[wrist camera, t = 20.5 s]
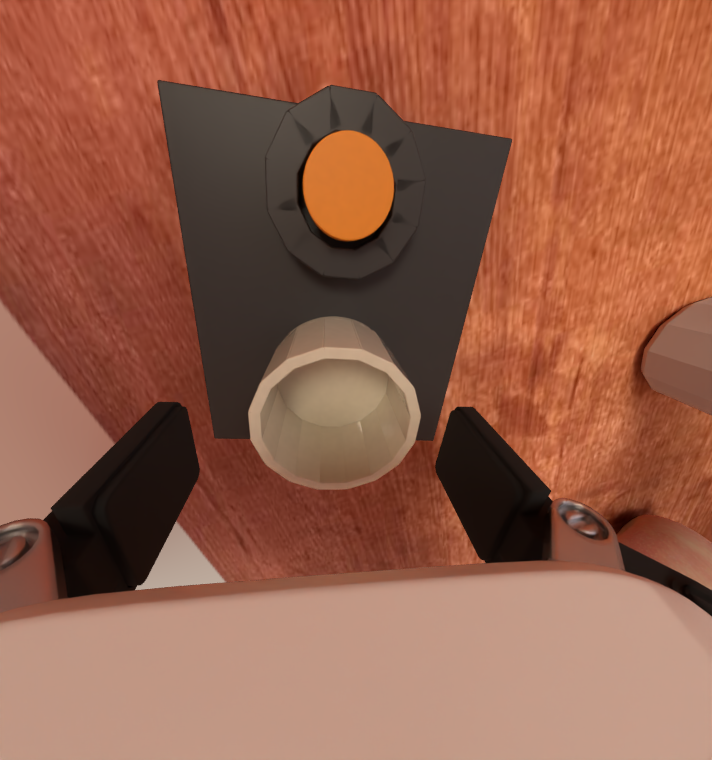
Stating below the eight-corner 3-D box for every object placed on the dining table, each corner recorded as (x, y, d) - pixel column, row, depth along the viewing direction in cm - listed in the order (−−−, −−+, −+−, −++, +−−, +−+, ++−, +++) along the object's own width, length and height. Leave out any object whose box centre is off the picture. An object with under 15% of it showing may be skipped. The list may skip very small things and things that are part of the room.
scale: (224, 421, 18) (203, 457, 15) (180, 102, 11) (126, 47, 8) (424, 424, 20) (442, 457, 17) (489, 150, 13) (540, 121, 10)
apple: (575, 551, 30) (654, 648, 23) (602, 502, 26) (705, 597, 19) (641, 544, 30) (738, 635, 23) (675, 494, 27) (802, 583, 20)
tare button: (305, 237, 11) (302, 236, 10) (305, 139, 10) (302, 122, 9) (380, 245, 12) (387, 245, 10) (391, 152, 10) (401, 137, 9)
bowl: (273, 425, 17) (254, 491, 12) (268, 311, 14) (241, 342, 9) (384, 427, 18) (404, 489, 13) (402, 320, 15) (435, 352, 10)
